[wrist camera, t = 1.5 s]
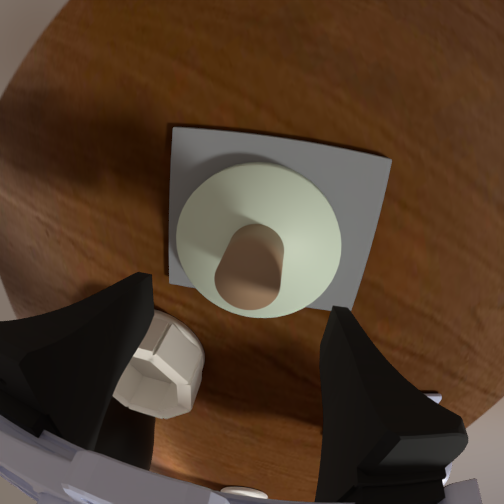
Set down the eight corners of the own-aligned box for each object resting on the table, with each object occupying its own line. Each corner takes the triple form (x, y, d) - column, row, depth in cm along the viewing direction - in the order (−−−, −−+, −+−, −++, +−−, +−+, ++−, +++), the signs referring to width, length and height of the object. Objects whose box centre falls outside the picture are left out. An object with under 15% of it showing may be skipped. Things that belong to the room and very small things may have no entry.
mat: (389, 158, 16) (392, 159, 15) (348, 308, 20) (350, 313, 20) (176, 126, 17) (173, 127, 16) (172, 278, 21) (169, 283, 21)
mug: (89, 414, 33) (58, 470, 24) (107, 373, 27) (64, 446, 19) (144, 446, 34) (120, 504, 25) (178, 414, 28) (150, 493, 20)
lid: (354, 177, 16) (373, 202, 12) (320, 316, 20) (322, 368, 16) (186, 152, 17) (150, 169, 13) (182, 292, 21) (156, 337, 17)
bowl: (206, 320, 22) (189, 360, 19) (204, 389, 26) (192, 426, 22) (108, 298, 23) (81, 330, 19) (122, 367, 26) (103, 399, 23)
